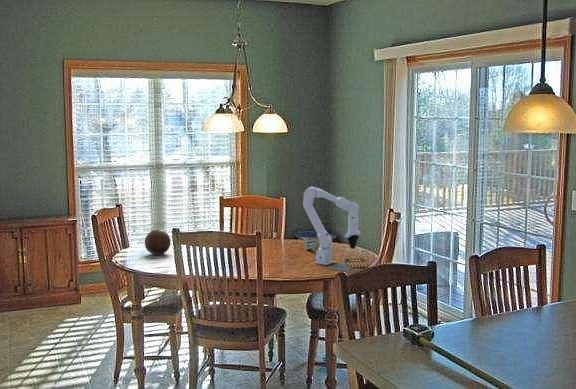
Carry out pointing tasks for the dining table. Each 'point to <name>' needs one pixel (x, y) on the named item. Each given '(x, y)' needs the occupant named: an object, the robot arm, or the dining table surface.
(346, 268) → the mat
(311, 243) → the gun
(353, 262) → the ammunition clip
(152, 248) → the wooden sphere
